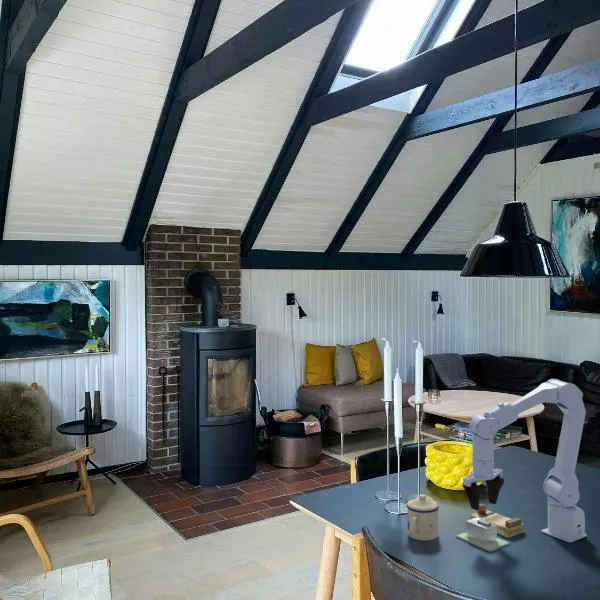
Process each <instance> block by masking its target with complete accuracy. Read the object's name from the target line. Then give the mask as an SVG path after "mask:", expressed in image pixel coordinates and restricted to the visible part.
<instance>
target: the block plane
mask: <svg viewBox="0 0 600 600" xmlns="http://www.w3.org/2000/svg"><path fill="white" fill-rule="evenodd" d="M469 516H470V517H469V520H471V519H474V518H477V517H478V518H480V519H483V520H486V521H488V522H491V523H493V524H495V525H497V535H501V536H503V537H505V538H508V539H509V538H512V537H514V536H517V535H520V534H523V533H525V523H524V522H522V518H519V517H518V516H517V517H514V518H510V517H508V516H504V515H502V514H500V513H497V512H493V511H491V510H489V509H487V505H486V504H484V503H479V509H478V510H476V512H473V513H471V514H469Z"/></svg>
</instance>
